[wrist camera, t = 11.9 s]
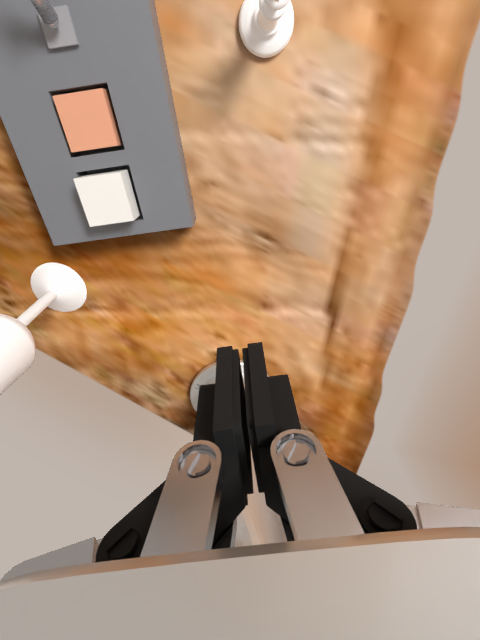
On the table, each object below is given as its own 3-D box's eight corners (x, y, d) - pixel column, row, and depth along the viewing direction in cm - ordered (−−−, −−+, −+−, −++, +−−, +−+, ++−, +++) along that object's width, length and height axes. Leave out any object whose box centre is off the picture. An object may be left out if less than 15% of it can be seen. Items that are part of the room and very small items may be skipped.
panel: (195, 219, 38) (192, 227, 35) (67, 237, 39) (52, 247, 35) (146, -37, 28) (135, -60, 24) (-27, -7, 28) (-62, -26, 25)
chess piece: (232, 47, 31) (233, 14, 22) (247, -24, 28) (255, -93, 20) (283, 65, 31) (304, 39, 23) (301, -3, 29) (332, -61, 20)
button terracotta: (125, 144, 33) (118, 145, 31) (81, 151, 33) (71, 152, 31) (111, 91, 31) (102, 88, 29) (64, 98, 31) (52, 95, 29)
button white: (139, 215, 35) (133, 220, 33) (98, 220, 35) (89, 226, 33) (127, 169, 33) (120, 171, 30) (83, 175, 33) (73, 178, 31)
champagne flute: (95, 280, 41) (-42, 433, 20) (75, 320, 44) (-65, 491, 23) (40, 251, 39) (-174, 387, 18) (23, 295, 42) (-181, 456, 21)
